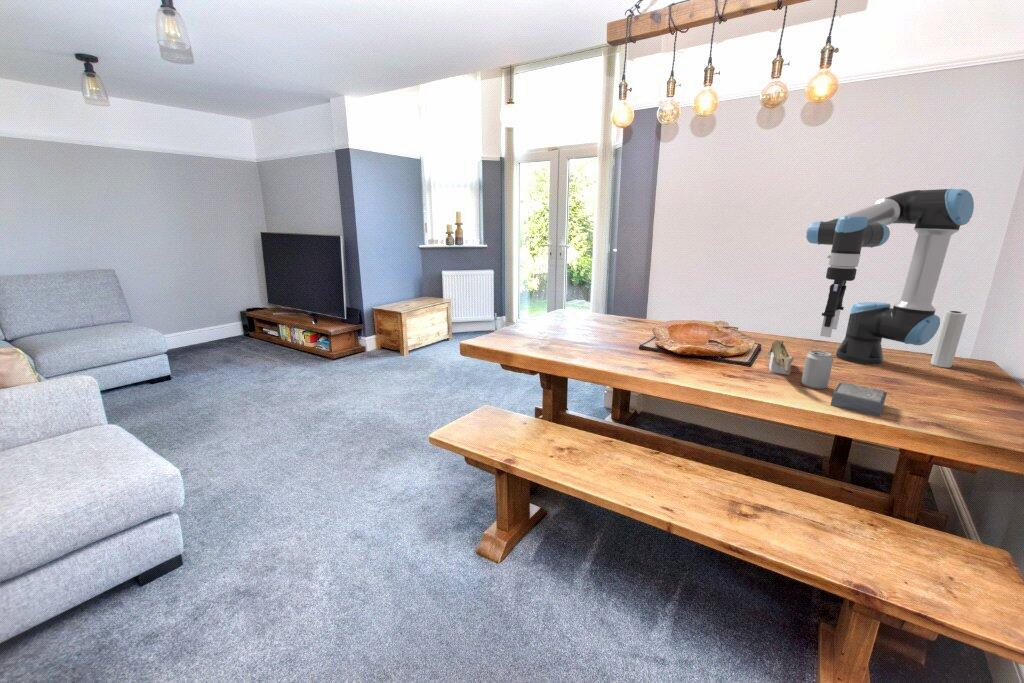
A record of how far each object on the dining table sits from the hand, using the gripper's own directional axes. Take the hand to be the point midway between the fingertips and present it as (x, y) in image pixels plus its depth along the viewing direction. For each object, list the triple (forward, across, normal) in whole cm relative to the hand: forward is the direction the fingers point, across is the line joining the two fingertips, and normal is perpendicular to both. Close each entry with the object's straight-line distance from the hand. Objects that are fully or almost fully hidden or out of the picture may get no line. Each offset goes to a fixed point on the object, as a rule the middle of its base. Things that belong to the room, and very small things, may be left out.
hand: (828, 332), depth 147 cm
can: (+19, 0, -1) cm, 19 cm away
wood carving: (+19, -8, -13) cm, 24 cm away
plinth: (+19, +9, +12) cm, 24 cm away
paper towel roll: (+19, -60, +33) cm, 71 cm away
